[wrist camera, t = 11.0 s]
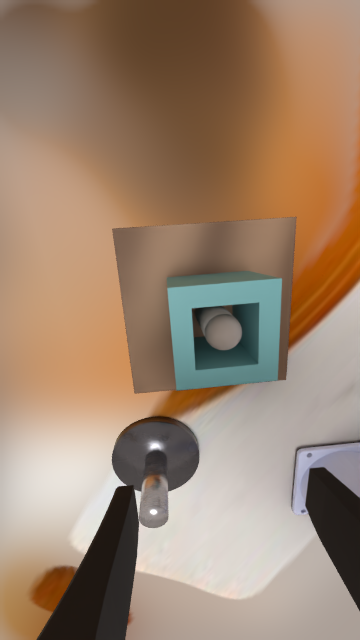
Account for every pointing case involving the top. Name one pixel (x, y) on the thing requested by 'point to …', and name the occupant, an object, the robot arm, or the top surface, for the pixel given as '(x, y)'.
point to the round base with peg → (155, 463)
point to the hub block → (195, 259)
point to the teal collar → (248, 308)
